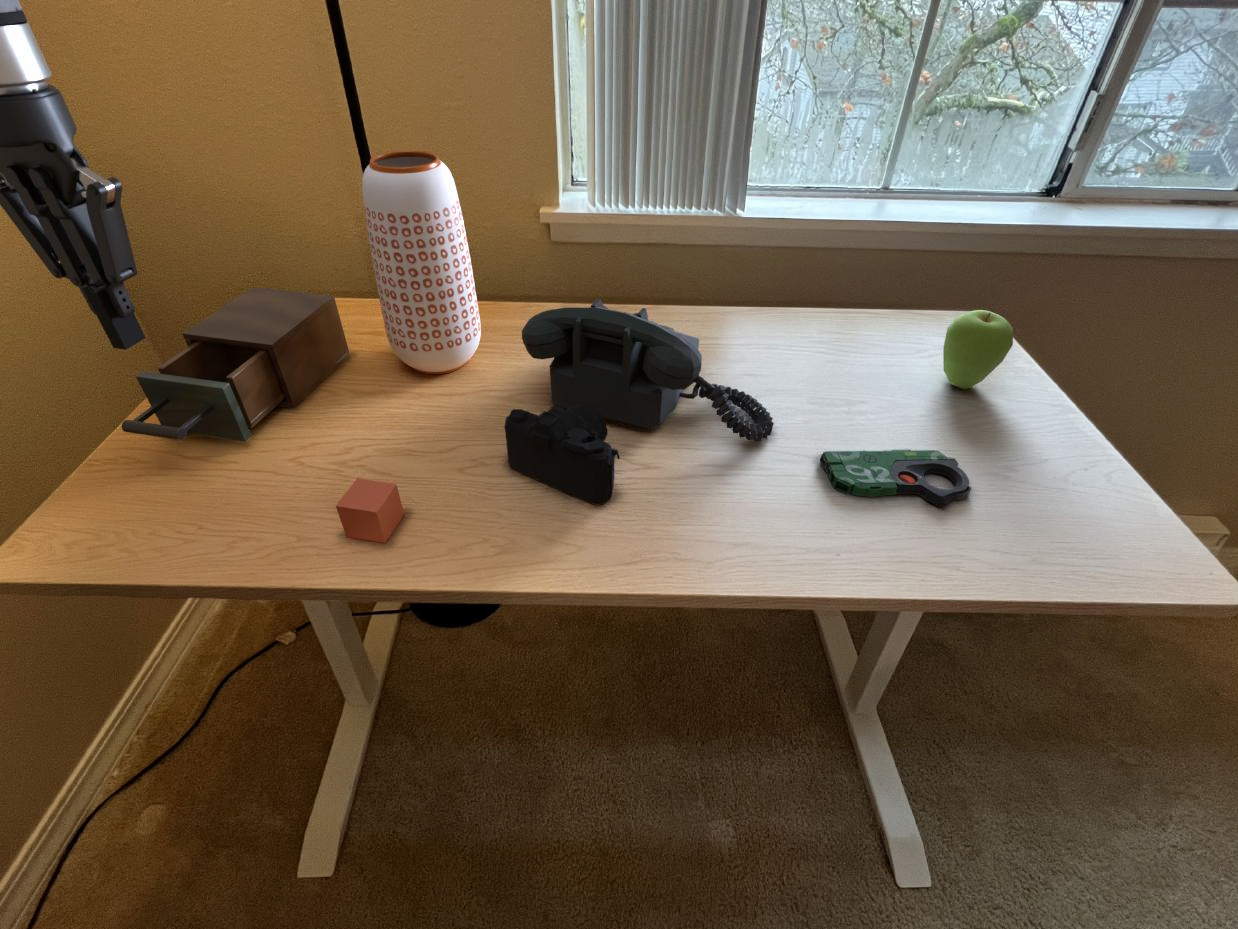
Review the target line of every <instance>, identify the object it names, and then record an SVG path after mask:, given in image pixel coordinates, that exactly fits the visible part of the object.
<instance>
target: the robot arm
mask: <svg viewBox="0 0 1238 929" xmlns="http://www.w3.org/2000/svg"><path fill="white" fill-rule="evenodd" d="M52 76H53V73H52V71H51V69H50V67H49V65H48V62H47V60H46V58H45V56H44V53H43V51H42V49H41V47H40V45H39V43H38V41H37V38H36V36H35V34H34V32H33V29H32V27H31V25H30V24H29V22H28V18H27V16H26V14H25V12H24V11H23V6H22V5H21V3H20V0H0V206H1V208H2V209H3V211H4V212H5V213H6V214H7V216H8V217H9V219H10V220H11V221H12V223H13V224H14V225H15V228H17V229H18V231H19V232H20V234H21V235H22V236H23V238H24V239H25V240H26V241H27V243H28V244H29V245H30V247H31V248H32V250H33V251H34V252H35V254H36V255H37V257H38V258H39V259H40V261H42V264H44V266H45V267H46V268H47V270H48V271H49V272H50V274H51V275H52V276H53V277H54V278H56V279H62V278H65V279H66V280H69V281H70V282H71V284H72V285H74V286H75V287H77V288H78V289H79V291H80V292H81V294H82V296H83V297H84V300H85V301H86V304H87V306H88V308H89V309H90V311H91V312H92V313H93V315H95V316H96V318H97V319H98V321H99V323H100V325H101V327H102V330H103V331H104V332H105V334H106V337H107V338H108V340H109V342H110V344H111V346H112V348H113V349H118V350H124V351H126V350H128V349H130V348H132V347H133V346H135V345H137V344H138V343H140V342H142V341H143V340H145V339H146V338H147V337H146V335H145V333H144V331H143V329H142V327H141V324H140V323H139V321H138V319H137V317H136V314H135V313H136V308H135V306H134V303H133V301H132V299H131V297H130V295H129V292H128V291H127V288H126V287H125V285H124V284H125V283H124V282H125V281H127V280H129V279H131V278H133V277H135V276H137V275H138V269H137V265H136V261H135V256H134V252H133V249H132V245H131V241H130V236H129V232H128V229H127V228H128V227H127V225H126V224H127V223H126V221H125V215H124V212H123V209H122V204H121V202H122V195H123V185H122V182H121V181H120V179H118V178H116V177H115V176H110V177H107V178H104V177H103V176H102V175H100V174H99V173H97V172H95V171H93V170H92V169H91V168H90V166H89V162H88V160H87V159H86V158H85V157H84V155H83V154H82V153H81V151H80V150H79V149H78V148H77V146H76V144H75V143H74V138H75V134H76V133H77V126H76V125H77V124H76V123H75V120H74V119H73V116H72V113H71V111H70V109H69V107H68V105H67V103H66V101H65V98H64V96H63V94H62V92H61V90H60V89H58V88H57V87H56V86H54V85H52V84H48V82H47V81H49V80H51V79H52Z"/></svg>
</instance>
